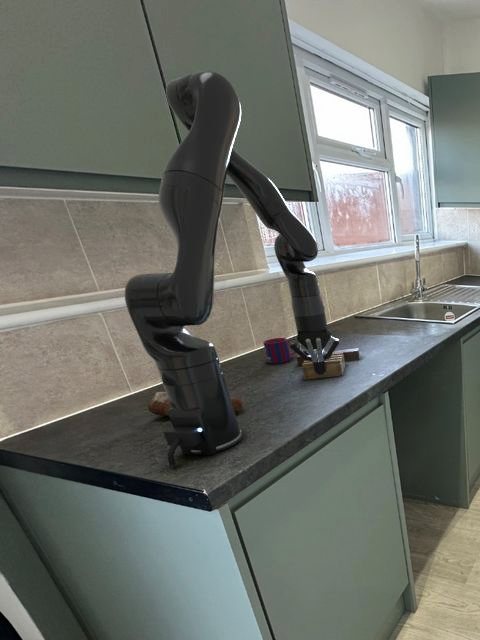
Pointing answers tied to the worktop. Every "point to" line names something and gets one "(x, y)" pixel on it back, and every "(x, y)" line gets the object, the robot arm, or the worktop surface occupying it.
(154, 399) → the bread
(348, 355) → the stop rail
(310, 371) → the rack
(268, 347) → the mug
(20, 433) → the worktop surface
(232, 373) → the worktop surface
